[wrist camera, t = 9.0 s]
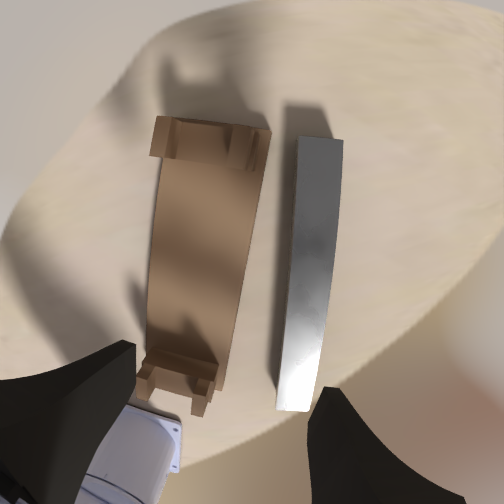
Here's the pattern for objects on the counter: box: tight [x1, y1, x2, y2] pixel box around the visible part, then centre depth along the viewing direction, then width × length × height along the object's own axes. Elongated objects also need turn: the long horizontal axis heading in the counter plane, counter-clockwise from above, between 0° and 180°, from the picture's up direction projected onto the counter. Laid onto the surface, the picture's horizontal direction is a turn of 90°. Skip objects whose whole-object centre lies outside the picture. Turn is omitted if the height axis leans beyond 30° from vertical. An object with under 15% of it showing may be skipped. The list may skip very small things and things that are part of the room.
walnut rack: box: [136, 116, 272, 417], centre depth 17 cm, size 18×6×5 cm, turn 170°
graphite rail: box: [276, 136, 343, 411], centre depth 18 cm, size 18×2×2 cm, turn 178°
